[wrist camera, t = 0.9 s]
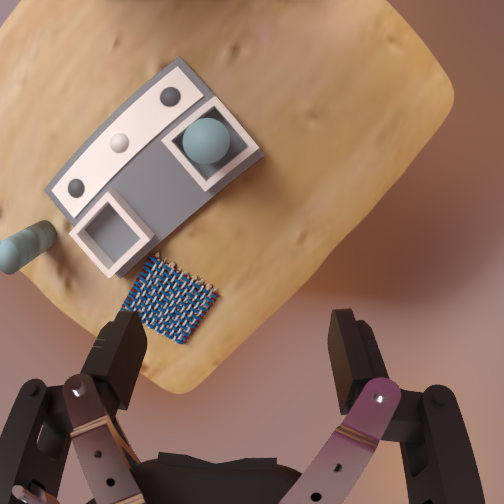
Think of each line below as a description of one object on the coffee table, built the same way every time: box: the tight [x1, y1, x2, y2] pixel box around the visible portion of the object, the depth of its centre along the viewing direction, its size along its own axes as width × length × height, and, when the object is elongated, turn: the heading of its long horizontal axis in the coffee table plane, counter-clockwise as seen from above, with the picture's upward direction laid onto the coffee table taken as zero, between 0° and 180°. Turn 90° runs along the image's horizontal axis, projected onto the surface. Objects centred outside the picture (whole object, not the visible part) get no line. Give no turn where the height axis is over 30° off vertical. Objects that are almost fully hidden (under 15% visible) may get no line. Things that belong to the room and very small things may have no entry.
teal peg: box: [0, 220, 57, 275], centre depth 32 cm, size 4×4×10 cm
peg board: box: [45, 56, 264, 279], centre depth 31 cm, size 16×24×11 cm, turn 129°
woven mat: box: [120, 253, 219, 344], centre depth 41 cm, size 10×11×2 cm
